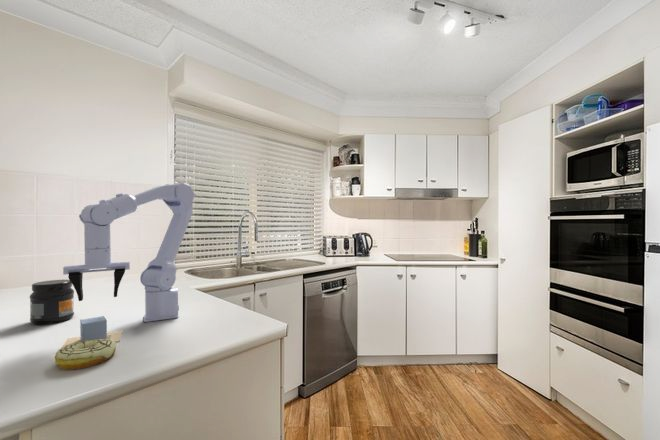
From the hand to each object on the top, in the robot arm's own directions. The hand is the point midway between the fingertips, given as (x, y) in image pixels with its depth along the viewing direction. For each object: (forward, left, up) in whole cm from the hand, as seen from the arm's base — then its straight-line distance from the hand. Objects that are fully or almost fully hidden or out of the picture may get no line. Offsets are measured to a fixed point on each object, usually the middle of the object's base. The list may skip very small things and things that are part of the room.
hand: (98, 298), depth 88 cm
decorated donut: (0, +19, -10) cm, 22 cm away
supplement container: (+15, -23, -10) cm, 29 cm away
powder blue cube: (+1, +5, -10) cm, 11 cm away
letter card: (+1, +5, -10) cm, 11 cm away
